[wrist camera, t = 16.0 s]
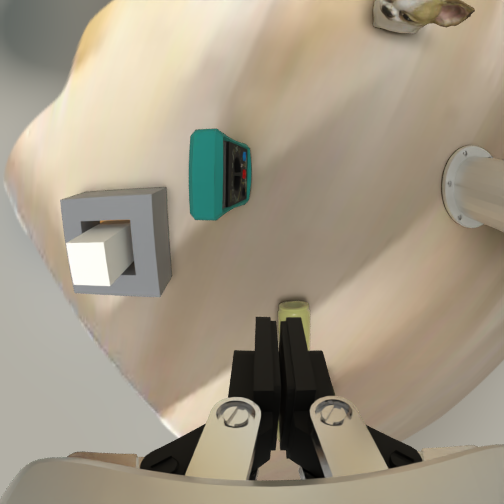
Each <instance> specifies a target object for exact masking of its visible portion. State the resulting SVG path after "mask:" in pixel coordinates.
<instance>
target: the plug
mask: <svg viewBox="0 0 504 504" xmlns="http://www.w3.org/2000/svg"><path fill="white" fill-rule="evenodd" d="M66 246H67V252H68V258H69V263H70V269H71V274H72V279H73V284H74V285H93V286H111V285H112V284H113V283H114V282H115V280H116V279H117V278H118V277H119V276H120V275H121V274H122V273H123V272H124V271H125V270H126V269H127V268H128V267H129V266H130V264H131V263H132V262H133V261H134V254H133V245H132V235H131V224H130V220H113V221H103V222H102V223H100V224H98V225H96V226H95V227H93V228H91V229H89V230H87V231H86V232H84V233H82V234H81V235H79V236H77V237H75V238H74V239H72V240H70V241H69V242H67V243H66Z"/></svg>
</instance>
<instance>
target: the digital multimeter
mask: <svg viewBox="0 0 504 504" xmlns="http://www.w3.org/2000/svg"><path fill="white" fill-rule="evenodd" d="M250 187H251V156H250V148H249V147H248V146H247V145H246V144H244V143H240V142H238V141H235V140H233V139H231V138H229V137H228V136H226V135H225V134H224V133H222V132H221V131H219V130H218V129H199V130H195V131H194V133H193V134H192V135H191V137H190V153H189V202H190V214H191V215H192V216H193V218H194V219H195V220H217V219H219V218H220V217H221V216H222V215H224V214H225V213H226V212H228V211H230V210H231V209H233V208H235V207H238V206H241V205H245V204H246V203H247V201H248V200H249V195H250Z"/></svg>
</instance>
